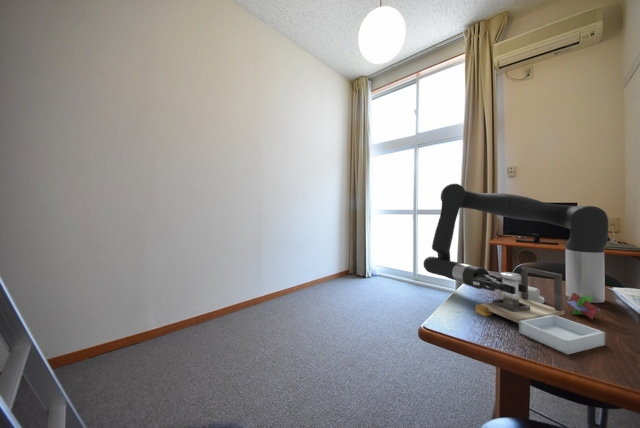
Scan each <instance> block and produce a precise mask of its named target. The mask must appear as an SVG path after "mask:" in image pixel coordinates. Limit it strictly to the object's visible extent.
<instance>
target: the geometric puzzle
mask: <svg viewBox="0 0 640 428" xmlns="http://www.w3.org/2000/svg"><path fill="white" fill-rule="evenodd" d="M578 294H579V293H578ZM578 294H576V293H574V292H573V293H572V294H571V295H570V296H569V297H568V296H567V297H568V298H567V299H568V300H567V299H565V300H564V302H565V303H566V304H568V305H569V306H568V309H569V312H571V313H570V315H571V316H572V315H573V316H574V315H584V316H586V318H588V319H590V320H593V319H594V318H595V317H596V315H597V314H596V313H597V312H601V311H602V310H601V309H600V307H598V306H597V305H598V303H595V304H596V306H595V305H594V304H592V302H591V301H592V299H593V297H594V296H592V297H581V296H580V295H578ZM583 295H584V294H583ZM588 296H589V295H588ZM594 299H595V298H594ZM570 306H571V307H573V308H574V309H573V311H571V308H570Z"/></svg>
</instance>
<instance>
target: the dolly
mask: <svg viewBox="0 0 640 428" xmlns="http://www.w3.org/2000/svg"><path fill="white" fill-rule="evenodd" d="M529 273H530V274H535V275H538V276H542V277H543V276H544V277H548V278H553V281H554V282H553V285H554V286H553V288H554V289H553V291H554V294H553V297H554V300H553V301H554V307H552V306H550V305H547V304H544V303H543V304H540V303H537V302H534V301H531V300H528V286H529V275H528V274H529ZM520 275H521V280H520V282H521V283H520V284H523V285H526V286H527V292H525V293H524V292H521V298H519V307H515V308H513V307H510V306H507V305H505V304H503V302H502V298H500V299H493V300H492V301H491V302H488V303H479V304H478V303H476V304H475V313H477V314H479V315H481V316H484V317H487V316H488V317H489V316H492V315H493V314H496V315H498V316H501V317H503V318H504V319H508V320H510V321H512V322H514V323H517V325H519V321H522V320H528V319H533V318H538V317H544V316H549V315H556V316H559V317H560V316H563V315H565V310H563V274H561V273H557V272H550V271H547V270H546V271H545V270H542V269H541V270H540V269H535V268H530V267H527V266H521V267H520Z"/></svg>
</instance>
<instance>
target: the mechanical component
mask: <svg viewBox="0 0 640 428" xmlns="http://www.w3.org/2000/svg"><path fill="white" fill-rule="evenodd" d="M519 298H521V292H520V291H519ZM528 300H531V301H534V302H537V303H540V304H543V305H544V303H545V298H544V297H543V296H541V295H540V289H538V288H537V287H533V286H530V285H528Z"/></svg>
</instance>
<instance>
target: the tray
mask: <svg viewBox="0 0 640 428" xmlns="http://www.w3.org/2000/svg"><path fill="white" fill-rule="evenodd" d="M518 333H519V334H521V335H524V336H525V337H527V338H530V339H532V340H534V341H537V342H539V343H541V344H543V345H546V346H548V347H551V348H552V349H554V350H557V351H558V352H561V353H563V354H565V355H570V354H574V353H579V352H582V351H588V350H590V349H594V348H600V347H602V346H606V332H605V331H602V330H600V329H597V328H594V327H591V326H588V325H585V324H582V323H579V322H576V321H574V320H570V319H567V318H565V317H561V316H560V315H559V316H556V315H549V316H544V317H538V318H533V319H528V320H522V321H519V324H518Z"/></svg>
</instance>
